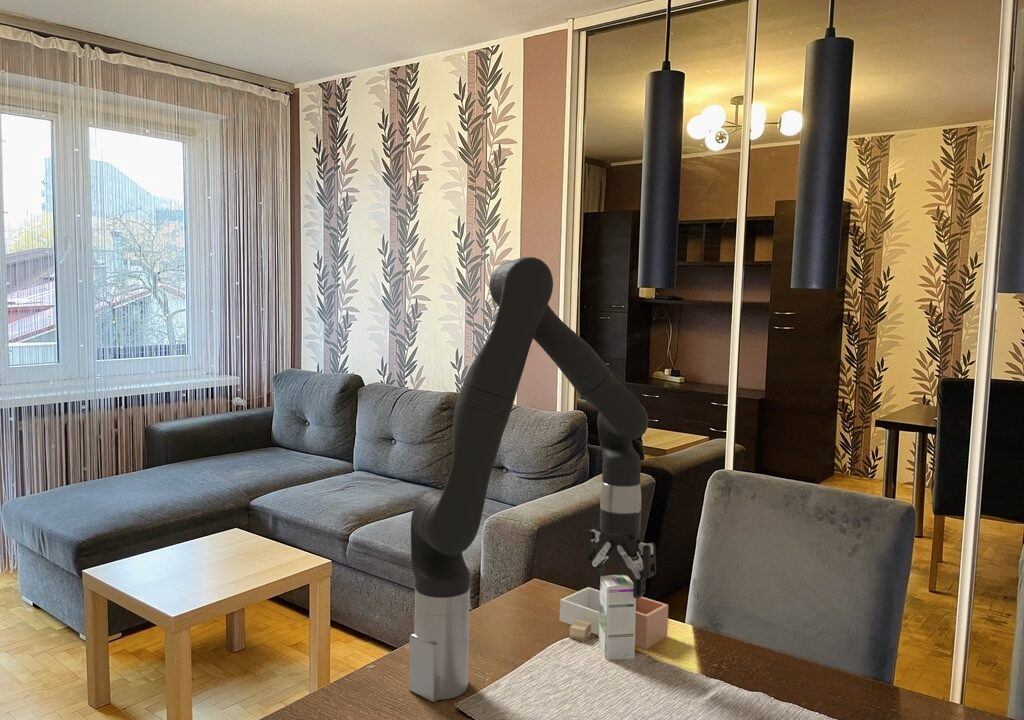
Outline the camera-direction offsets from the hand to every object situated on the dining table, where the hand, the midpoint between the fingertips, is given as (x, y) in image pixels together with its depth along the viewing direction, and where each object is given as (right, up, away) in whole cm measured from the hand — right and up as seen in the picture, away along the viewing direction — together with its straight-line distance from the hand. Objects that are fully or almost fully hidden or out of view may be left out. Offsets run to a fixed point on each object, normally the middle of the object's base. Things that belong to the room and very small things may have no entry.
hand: (618, 591), depth 139 cm
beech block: (-7, -12, +7) cm, 15 cm away
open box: (+5, -12, +8) cm, 15 cm away
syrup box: (0, -13, +1) cm, 13 cm away
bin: (-3, -11, +15) cm, 19 cm away
